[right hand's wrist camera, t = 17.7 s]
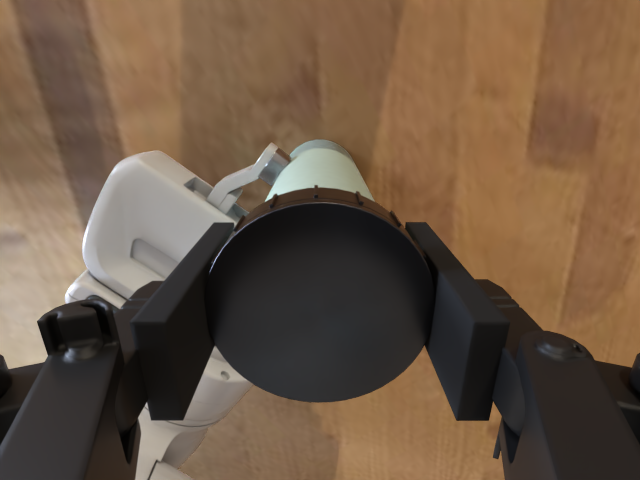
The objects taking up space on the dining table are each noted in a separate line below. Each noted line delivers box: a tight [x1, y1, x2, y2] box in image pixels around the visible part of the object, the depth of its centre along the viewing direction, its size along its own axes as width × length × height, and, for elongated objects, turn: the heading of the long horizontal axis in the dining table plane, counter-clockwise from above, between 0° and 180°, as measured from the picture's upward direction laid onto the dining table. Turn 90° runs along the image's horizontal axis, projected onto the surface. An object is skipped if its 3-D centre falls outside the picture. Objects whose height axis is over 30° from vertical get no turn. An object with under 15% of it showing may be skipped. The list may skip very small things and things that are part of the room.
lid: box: [204, 185, 435, 402], centre depth 11 cm, size 7×7×2 cm
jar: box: [265, 139, 375, 202], centre depth 19 cm, size 6×6×18 cm
